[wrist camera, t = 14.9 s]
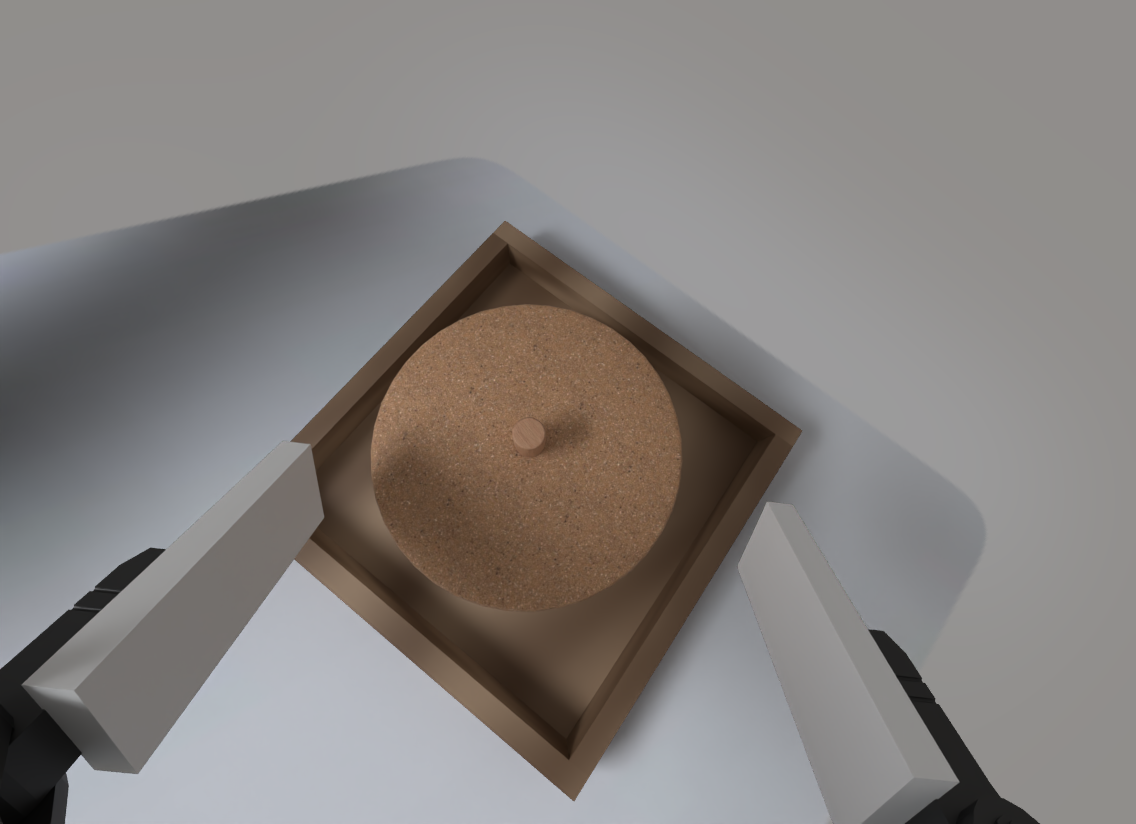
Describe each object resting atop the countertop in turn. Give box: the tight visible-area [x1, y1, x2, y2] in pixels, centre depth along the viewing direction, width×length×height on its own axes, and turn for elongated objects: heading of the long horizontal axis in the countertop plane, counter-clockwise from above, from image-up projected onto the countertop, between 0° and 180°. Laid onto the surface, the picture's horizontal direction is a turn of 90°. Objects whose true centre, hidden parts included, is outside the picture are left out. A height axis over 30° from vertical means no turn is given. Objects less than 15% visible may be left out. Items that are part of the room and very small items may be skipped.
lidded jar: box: [371, 304, 682, 612], centre depth 18 cm, size 11×11×9 cm
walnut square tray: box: [290, 221, 802, 801], centre depth 22 cm, size 19×19×2 cm
